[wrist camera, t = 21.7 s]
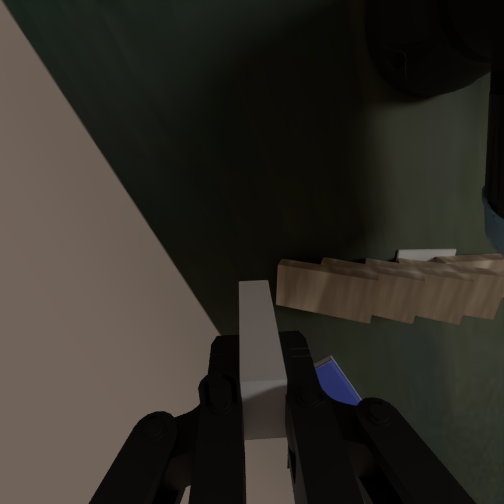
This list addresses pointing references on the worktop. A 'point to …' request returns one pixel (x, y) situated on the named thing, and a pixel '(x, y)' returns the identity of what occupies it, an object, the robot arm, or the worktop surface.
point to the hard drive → (335, 382)
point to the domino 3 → (437, 291)
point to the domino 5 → (475, 261)
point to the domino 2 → (390, 289)
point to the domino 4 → (484, 290)
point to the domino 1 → (326, 290)
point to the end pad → (424, 254)
